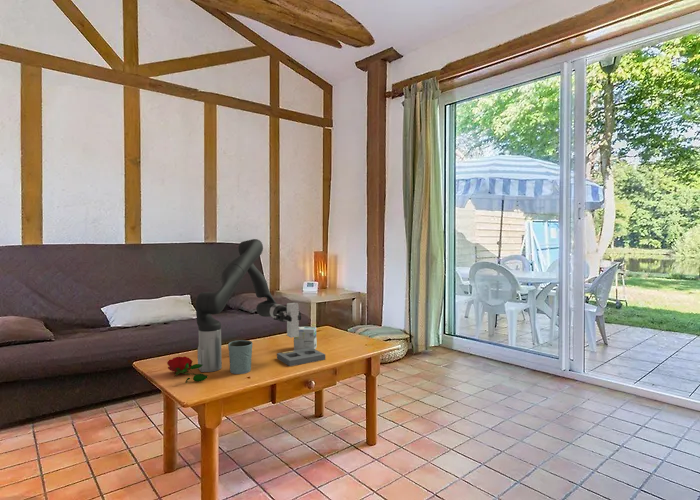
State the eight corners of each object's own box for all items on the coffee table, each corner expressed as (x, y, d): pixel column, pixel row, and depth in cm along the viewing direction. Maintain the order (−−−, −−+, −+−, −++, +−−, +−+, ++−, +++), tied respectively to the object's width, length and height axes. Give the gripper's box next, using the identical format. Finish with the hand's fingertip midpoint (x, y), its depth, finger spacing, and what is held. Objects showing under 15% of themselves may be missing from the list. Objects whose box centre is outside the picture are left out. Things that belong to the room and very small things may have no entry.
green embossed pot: (243, 365, 188) (243, 338, 188) (257, 370, 182) (257, 342, 182) (223, 371, 181) (223, 343, 180) (238, 376, 174) (237, 347, 174)
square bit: (290, 337, 193) (290, 304, 192) (287, 335, 196) (286, 303, 196) (298, 336, 195) (298, 303, 194) (295, 334, 198) (294, 302, 198)
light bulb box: (316, 347, 219) (316, 326, 219) (314, 350, 212) (314, 329, 212) (296, 346, 220) (296, 326, 220) (293, 350, 213) (293, 329, 213)
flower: (213, 356, 163) (173, 349, 182) (193, 373, 157) (155, 364, 176) (224, 374, 166) (184, 366, 186) (205, 392, 160) (166, 381, 179)
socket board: (289, 366, 187) (289, 360, 187) (276, 358, 199) (276, 352, 199) (325, 359, 197) (325, 353, 197) (311, 352, 209) (311, 347, 209)
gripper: (266, 306, 203) (281, 312, 189) (293, 303, 211) (309, 308, 197) (266, 322, 203) (281, 329, 189) (293, 318, 211) (309, 324, 197)
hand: (295, 318), depth 193 cm, fingers closed on square bit, 4 cm apart
